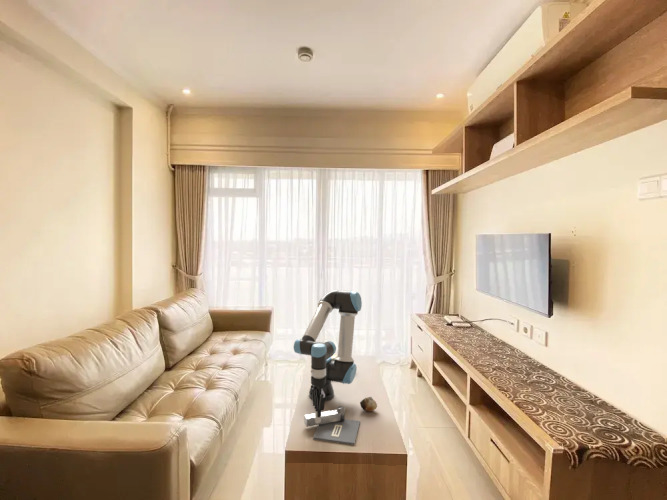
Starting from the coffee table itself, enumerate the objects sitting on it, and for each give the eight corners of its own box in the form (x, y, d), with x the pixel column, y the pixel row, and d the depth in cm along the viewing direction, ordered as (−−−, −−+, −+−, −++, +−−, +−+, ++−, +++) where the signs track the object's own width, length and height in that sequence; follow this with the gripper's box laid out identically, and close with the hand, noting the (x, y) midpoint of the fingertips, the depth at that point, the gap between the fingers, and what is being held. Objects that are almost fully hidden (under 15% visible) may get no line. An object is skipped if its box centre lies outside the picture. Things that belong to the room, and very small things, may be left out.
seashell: (376, 408, 193) (376, 394, 193) (377, 414, 188) (377, 399, 187) (359, 408, 194) (360, 394, 193) (360, 413, 188) (360, 399, 188)
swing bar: (342, 416, 181) (342, 405, 181) (345, 420, 177) (345, 409, 177) (304, 423, 174) (304, 412, 174) (306, 427, 170) (306, 416, 170)
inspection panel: (322, 417, 183) (323, 415, 183) (360, 422, 179) (360, 420, 179) (313, 439, 163) (313, 436, 163) (354, 445, 159) (354, 442, 159)
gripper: (306, 372, 174) (305, 418, 175) (317, 382, 163) (317, 430, 164) (319, 370, 178) (318, 414, 179) (331, 379, 167) (330, 426, 167)
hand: (318, 422), depth 171 cm, fingers closed
